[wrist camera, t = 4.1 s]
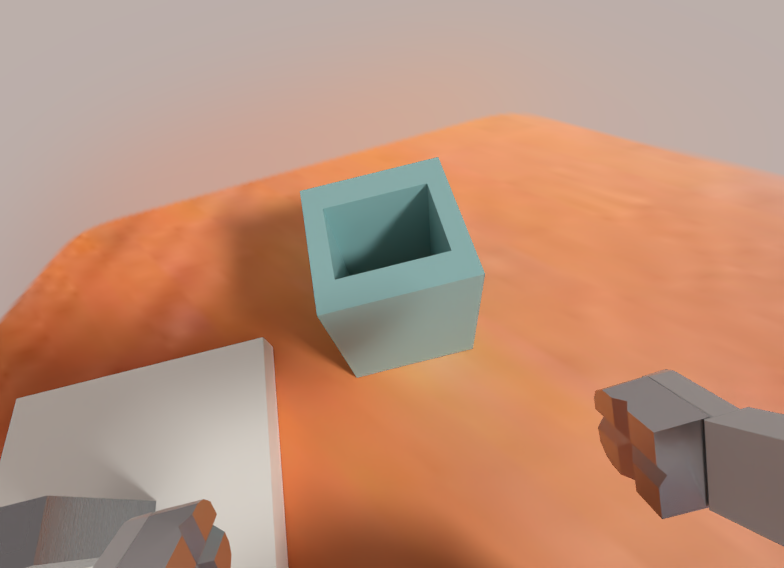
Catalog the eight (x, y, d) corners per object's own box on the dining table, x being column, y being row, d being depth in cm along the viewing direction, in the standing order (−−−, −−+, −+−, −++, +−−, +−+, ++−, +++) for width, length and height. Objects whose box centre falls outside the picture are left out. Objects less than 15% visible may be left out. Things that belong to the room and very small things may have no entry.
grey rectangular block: (152, 550, 18) (33, 565, 13) (86, 567, 18) (-62, 589, 13) (156, 500, 19) (46, 495, 14) (93, 516, 19) (-40, 517, 14)
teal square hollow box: (472, 348, 22) (484, 274, 15) (356, 377, 22) (317, 316, 15) (439, 253, 26) (438, 157, 19) (339, 278, 26) (300, 191, 19)
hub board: (299, 723, 16) (286, 742, 14) (-55, 815, 16) (-101, 843, 14) (273, 346, 24) (263, 337, 22) (39, 405, 24) (16, 398, 22)
